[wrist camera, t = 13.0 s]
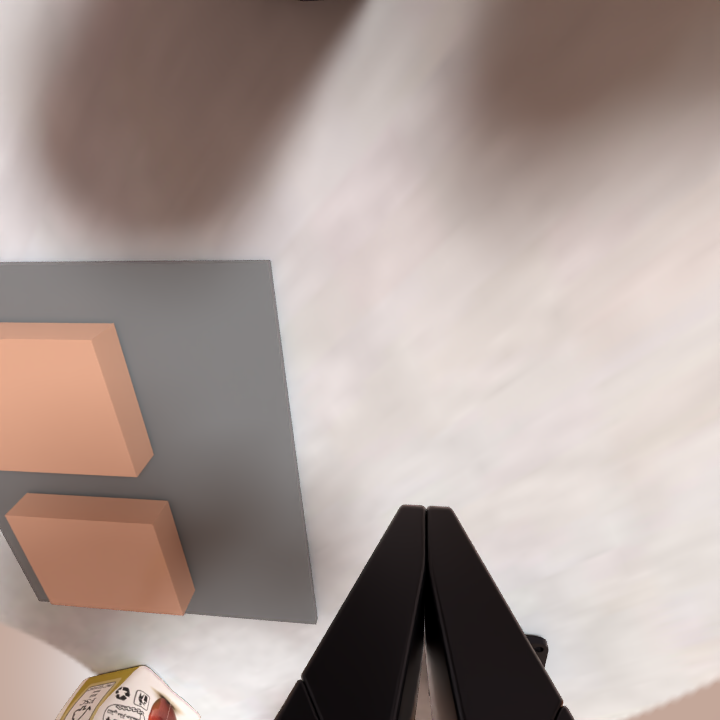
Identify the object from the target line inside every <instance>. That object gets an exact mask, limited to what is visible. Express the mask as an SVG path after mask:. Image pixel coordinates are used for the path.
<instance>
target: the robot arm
mask: <svg viewBox="0 0 720 720" xmlns="http://www.w3.org/2000/svg"><path fill="white" fill-rule="evenodd" d="M424 619H425V653H426V664H427V674H428V683H429V696H430V702H431V711H432V720H574V718H573V716H572V714H571V713H570V711H569V709H568V708H567V707H566V706H563V699H562V698H561V696H560V694H559V692H558V691H557V689H556V687H555V686H554V684H553V682H552V680H551V679H550V677H549V675H548V673H547V672H546V670H545V668H544V667H545V663H546V659H547V654H548V645H547V641H546V640H545V639H544V638H541V637H531V636H526V635H525V634H524V632H523V630H522V629H521V627H520V625H519V623H518V622H517V620H516V618H515V617H514V615H513V613H512V611H511V610H510V608H509V606H508V604H507V603H506V601H505V599H504V598H503V596H502V594H501V592H500V591H499V589H498V587H497V585H496V584H495V582H494V580H493V579H492V577H491V575H490V573H489V572H488V570H487V568H486V566H485V565H484V563H483V561H482V560H481V558H480V556H479V554H478V553H477V551H476V549H475V547H474V546H473V544H472V542H471V541H470V539H469V537H468V535H467V534H466V532H465V530H464V528H463V527H462V525H461V523H460V522H459V520H458V518H457V516H456V515H455V513H454V511H453V510H452V509H451V508H450V507H441V506H429V507H427V509H426V508H425V507H424V506H422V505H402V506H401V507H400V508H399V509H398V511H397V513H396V515H395V516H394V518H393V520H392V521H391V523H390V525H389V526H388V528H387V530H386V532H385V533H384V535H383V537H382V538H381V540H380V542H379V543H378V545H377V547H376V549H375V550H374V552H373V554H372V555H371V557H370V559H369V560H368V562H367V564H366V566H365V567H364V569H363V571H362V572H361V574H360V576H359V577H358V579H357V581H356V583H355V584H354V586H353V588H352V589H351V591H350V593H349V594H348V596H347V598H346V600H345V601H344V603H343V605H342V606H341V608H340V610H339V611H338V613H337V615H336V617H335V618H334V620H333V622H332V623H331V625H330V627H329V628H328V630H327V632H326V634H325V635H324V637H323V639H322V640H321V642H320V644H319V645H318V647H317V649H316V651H315V652H314V654H313V656H312V657H311V659H310V661H309V662H308V664H307V666H306V668H305V669H304V671H303V673H302V675H301V679H302V680H298V681H297V682H296V684H295V686H294V687H293V689H292V691H291V693H290V694H289V696H288V698H287V699H286V701H285V703H284V704H283V706H282V708H281V709H280V711H279V712H278V714H277V716H276V717H275V719H274V720H415V714H416V706H417V698H418V690H419V681H420V673H421V665H422V656H423V646H424Z"/></svg>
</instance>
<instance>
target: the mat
mask: <svg viewBox="0 0 720 720" xmlns="http://www.w3.org/2000/svg"><path fill="white" fill-rule="evenodd" d="M0 322H14V323H114V326H115V329H116V332H117V335H118V339H119V342H120V345H121V349H122V352H123V355H124V358H125V362H126V365H127V368H128V372H129V375H130V378H131V381H132V385H133V388H134V391H135V394H136V398H137V401H138V404H139V408H140V411H141V414H142V417H143V421H144V424H145V427H146V431H147V434H148V437H149V440H150V444H151V447H152V450H153V454H154V455H153V457H152V458H151V459H150V461H149V462H148V463H147V465H146V466H145V467H144V469H143V470H142V471H141V473H140V474H139V475H138V477H123V476H103V475H82V474H62V473H42V472H22V471H2V470H0V529H1V531H2V533H3V535H4V537H5V538H6V540H7V542H8V544H9V546H10V548H11V550H12V551H13V553H14V555H15V557H16V559H17V561H18V563H19V564H20V566H21V568H22V570H23V572H24V574H25V576H26V577H27V579H28V581H29V583H30V585H31V587H32V588H33V590H34V592H35V594H36V596H37V598H38V600H39V601H45V602H50V601H49V599H48V597H47V595H46V593H45V591H44V589H43V587H42V585H41V583H40V582H39V580H38V578H37V576H36V574H35V572H34V570H33V568H32V566H31V564H30V562H29V561H28V559H27V557H26V555H25V553H24V551H23V549H22V547H21V545H20V543H19V541H18V540H17V538H16V536H15V534H14V532H13V530H12V528H11V526H10V524H9V522H8V520H7V519H6V517H5V515H6V514H7V513H8V512H9V511H10V510H11V509H12V508H13V507H14V506H15V505H16V504H17V503H18V502H19V501H20V500H21V499H22V498H23V496H24V495H25V494H26V493H38V494H56V495H74V496H92V497H110V498H128V499H146V500H164V501H168V503H169V506H170V509H171V512H172V516H173V519H174V522H175V526H176V529H177V532H178V535H179V539H180V542H181V545H182V549H183V552H184V555H185V558H186V562H187V565H188V568H189V572H190V575H191V578H192V581H193V585H194V588H195V592H194V594H193V596H192V598H191V600H190V602H189V604H188V607H187V609H186V611H185V613H187V614H199V615H210V616H222V617H234V618H246V619H258V620H269V621H281V622H293V623H305V624H316V623H317V611H316V603H315V596H314V588H313V580H312V573H311V565H310V558H309V550H308V542H307V535H306V527H305V520H304V512H303V504H302V497H301V489H300V482H299V474H298V467H297V459H296V451H295V444H294V436H293V429H292V421H291V413H290V406H289V398H288V391H287V383H286V375H285V368H284V360H283V353H282V345H281V337H280V330H279V322H278V315H277V307H276V299H275V292H274V284H273V277H272V269H271V262H270V260H234V261H104V262H0Z"/></svg>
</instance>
